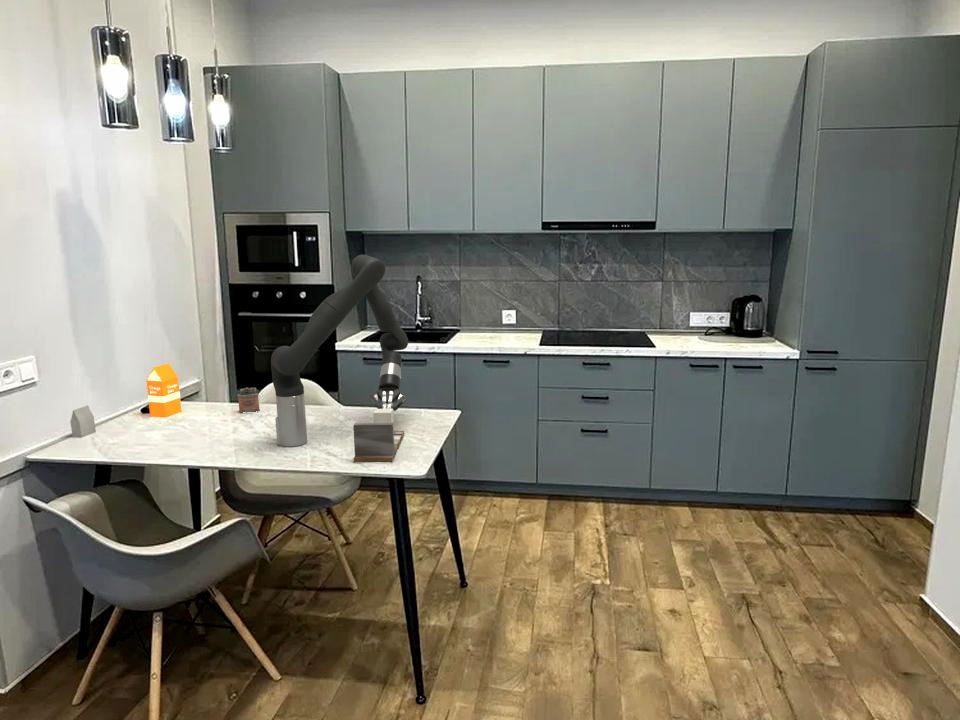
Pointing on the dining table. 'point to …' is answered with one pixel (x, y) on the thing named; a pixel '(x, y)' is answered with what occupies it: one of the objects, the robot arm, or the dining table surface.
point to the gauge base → (376, 441)
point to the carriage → (384, 416)
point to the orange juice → (163, 392)
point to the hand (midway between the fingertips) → (386, 420)
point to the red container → (248, 400)
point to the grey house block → (82, 422)
